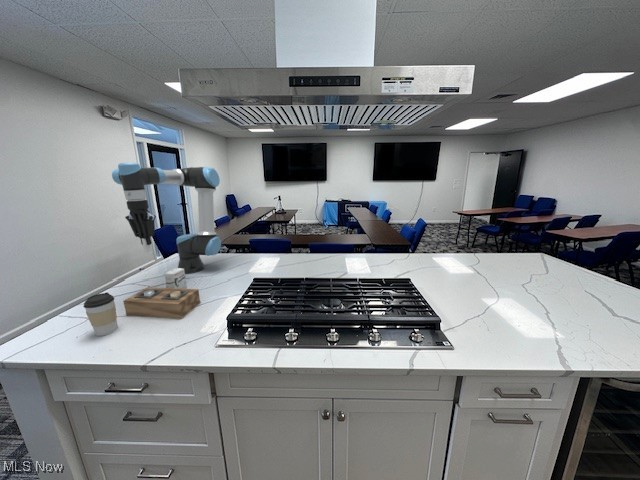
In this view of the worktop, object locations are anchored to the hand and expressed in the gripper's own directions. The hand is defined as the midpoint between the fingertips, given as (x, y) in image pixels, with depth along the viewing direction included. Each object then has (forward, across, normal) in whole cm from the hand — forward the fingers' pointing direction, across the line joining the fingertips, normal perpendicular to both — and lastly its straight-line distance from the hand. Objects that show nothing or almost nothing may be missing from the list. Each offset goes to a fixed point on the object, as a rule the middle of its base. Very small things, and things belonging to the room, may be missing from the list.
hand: (148, 251), depth 115 cm
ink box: (+26, +2, +10) cm, 28 cm away
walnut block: (+25, +8, -7) cm, 27 cm away
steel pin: (+25, +2, -7) cm, 26 cm away
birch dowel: (+25, +15, -7) cm, 29 cm away
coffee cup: (+25, -3, -25) cm, 35 cm away
